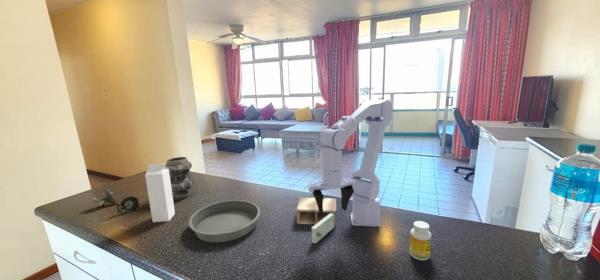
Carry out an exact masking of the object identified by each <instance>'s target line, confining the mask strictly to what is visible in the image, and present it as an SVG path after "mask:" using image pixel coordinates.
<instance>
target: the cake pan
mask: <svg viewBox="0 0 600 280" xmlns="http://www.w3.org/2000/svg"><path fill="white" fill-rule="evenodd" d="M260 214H261V209H260V207H259V206H258V205H257V204H256V203H254V202H251V201H248V200H244V199H230V200H223V201H218V202H214V203H211V204H208V205H206V206H203V207H202V208H200V209H198V210H197V211H195V212H194V213H193V214H192V215H191V216H190V218H189V220H188V227H189V228H190V229H191V230H192V231H193V232H194V234H195V235H196V237H197V238H198V239H199V240H201V241H203V242H207V243H224V242H230V241H233V240H236V239H239V238H243V236H245V235H247V234H249V233H250V232H251V231H252V230H253V229H254V228H255V227H256V224H257V221H258V218H259V217H260Z"/></svg>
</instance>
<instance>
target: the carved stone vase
mask: <svg viewBox="0 0 600 280" xmlns="http://www.w3.org/2000/svg"><path fill="white" fill-rule="evenodd" d="M165 167H166V168H167V169H169V174H170V182H171V189H172V196H173V201H174V200H176V201H177V200H183V199H187V198H190V197H191V196H192V195H193V194H194V191H193V190H191V188H192V187H193V186H194V185H195V179H193V178H192V177H191V172H190V171H191V168H192V163H191V162H190V161H188V157H186V156H177V157H171V158H169V159H167V160H166V164H165Z"/></svg>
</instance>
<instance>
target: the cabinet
mask: <svg viewBox="0 0 600 280" xmlns="http://www.w3.org/2000/svg"><path fill="white" fill-rule="evenodd" d="M297 204H298V205H297V207H296V223H297V225H316V224H317V223H318V222H319V221H321V220H322V219H323V218H325V217H326V216H327V215H329V214H330V213H331V214H332V211H335V226H337V198H334V197H333V198H328V197H323V214H320V213H319V210H318V206H317V202H316V200H315V197H299V201H298V203H297Z"/></svg>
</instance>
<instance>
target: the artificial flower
mask: <svg viewBox="0 0 600 280" xmlns="http://www.w3.org/2000/svg"><path fill="white" fill-rule="evenodd" d="M102 192H103V193H101V197H100V198H96V197H92V199H93V200H94V201H95V200H96V201H97V202H99V204H100V207H102V205H103V204H105V203H108V204H109V203H110V205H117V204H116V203H118V202H117V201H116V200H115V198H114V197H113V196H112V195H113V193H114V192H113V191H112V192H110V189H109V188H105V187H104V188H103V189H102ZM118 204H119V205H118V206H119V207H120V208H119V209H120V210H121V211H125V213H126V214H130V213H131V211H132V212H134V211H136V210H137V209H138V208H139V207H140V203H139V198H137V197H135V196H128V197H127V196H126V197H125V198H123V199H122V200H121V202H120V203H118Z"/></svg>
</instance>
